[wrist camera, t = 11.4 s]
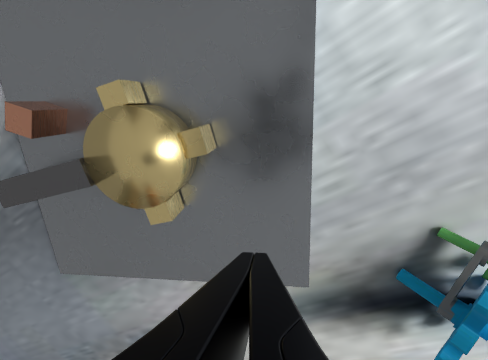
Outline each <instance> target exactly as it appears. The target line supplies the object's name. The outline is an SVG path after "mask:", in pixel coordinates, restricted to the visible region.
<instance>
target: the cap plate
mask: <svg viewBox="0 0 488 360" xmlns="http://www.w3.org/2000/svg"><path fill="white" fill-rule="evenodd" d="M315 24H316V0H0V81H1V84H2V87H3V90H4V94H5V97H6V100H7V101H5V130H7V131H10V132H13V133H15V134H17V135H18V138H19V142H20V145H21V148H22V151H23V154H24V158H25V161H26V164H27V167H28V170H29V173H30V172H33V171H37V170H40V169H44V168H47V167H51V166H55V165H58V164H62V163H65V162H69V161H72V160H76V159H80V158H83V157H84V155H83V141H84V136H85V133H86V130H87V128H88V126H89V124H90V123H91V121H92V120H93V119H94V118H95V117H96V116H97V115H98V114H99V113H100V112H102V111H104V107H103V105H102V102H101V100H100V97H99V95H98V92H97V90H96V87H99V86H102V85H104V84H107V83H110V82H113V81H116V80H119V79H121V80H129V81H137V82H140V84H141V87H142V90H143V92H144V95H145V98H146V101H147V103H146V104H142V105H156V106H160V107H163V108H166V109H168V110H170V111H172V112H173V113H175V114H176V115H177V116H178V117H179V118H181V119H182V120H183V122H184V123H185V124H186V125H187V127H188V128H189V129H192V128H195V127H199V126H203V125H206V124H210V127H211V130H212V133H213V137H214V140H215V143H216V147H217V148H215V149H214V150H213V151H211V152H210V153H208V154H206V155H202V156H198V157H197V161H196V166H195V170H194V172H193V174H192V176H191V178H190V179H189V181H188V182H187V183H186V184H185V185H184V186H183V187H181V188H180V189H179V190H178V191H179V194H180V196H181V199H182V202H183V205H184V209H183V210H182V211H181V212H180V213H179V214H178V215H177V217H176V218H175V219H174V220H173V221H170V222H164V223H159V224H154V225H151V224H150V222H149V219H148V217H147V214H146V212H145V209H136V208H130V207H126V206H123V205H121V204H119V203H117V202H115V201H113V200H112V199H110V198H109V197H107V196H106V195H105V194H104V193H103V192H102V191H101V190H100V189H99V188H98V187H97V186H96V185H93V186H91V187H87V188H83V189H79V190H75V191H71V192H67V193H63V194H59V195H55V196H51V197H47V198H43V199H39V200H38V202H39V206H40V209H41V212H42V215H43V218H44V222H45V225H46V228H47V231H48V234H49V238H50V241H51V244H52V247H53V250H54V254H55V257H56V260H57V263H58V266H59V270H60V273H61V274H79V275H97V276H115V277H133V278H151V279H169V280H187V281H205V282H208V281H210V280H211V279H212V278H213V277H214V276H215V275H217V274H218V273H219V272H220V271H221V270H222V269H223V268H225V267H226V266H227V265H228V264H229V263H230V262H231V261H233V260H234V259H235V258H236V257H237V256H238V255H240V254H241V253H242V252H253V253H254V254H255V253H267V254H268V256H269V258H270V260H271V262H272V263H273V265H274V267H275V269H276V271H277V272H278V274H279V276H280V278H281V280H282V281H283V283H284V285H285V286H295V287H309V256H310V217H311V179H312V140H313V101H314V62H315Z"/></svg>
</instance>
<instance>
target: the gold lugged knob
mask: <svg viewBox="0 0 488 360" xmlns="http://www.w3.org/2000/svg"><path fill="white" fill-rule="evenodd" d="M96 90H97V92H98V95H99V97H100V100H101V102H102V105H103V107H104V111H102V112H100V113H99V114H98V115H97V116H96V117H95V118H94V119H93V120H92V121H91V123H90V124H89V126H88V128H87V130H86V133H85V136H84V141H83V155H84V157H83V158H80V159H76V160H72V161H69V162H65V163H62V164H58V165H55V166H51V167H47V168H44V169H40V170H37V171H33V172H30V173H26V174H23V175H19V176H16V177H12V178H9V179H5V180H2V181H0V202H1V204H2V206H3V207H4V208H7V207H11V206H15V205H19V204H23V203H27V202H31V201H35V200H39V199H43V198H47V197H51V196H55V195H59V194H63V193H67V192H71V191H75V190H79V189H83V188H87V187H91V186H93V185H96V186H97V187H98V188H99V189H100V190H101V191H102V192H103V193H104V194H105V195H106V196H107V197H109V198H110V199H112V200H113V201H115V202H117V203H119V204H121V205H123V206H126V207H130V208H136V209H145V212H146V214H147V217H148V219H149V222H150V224H151V225H154V224H159V223H164V222H170V221H173V220H174V219H175V218H176V217H177V215H178V214H179V213H180V212H181V211H182V210H183V209H184V205H183V202H182V199H181V196H180V194H179V191H178V190H179V189H180V188H181V187H183V186H184V185H185V184H186V183H187V182H188V181H189V179H190V178H191V176H192V174H193V172H194V170H195V166H196V161H197V157H198V156H202V155H206V154H208V153H210V152H211V151H213V150H214V149H215V148H217V147H216V143H215V140H214V137H213V133H212V130H211V127H210V124H206V125H203V126H199V127H195V128H192V129H189V128H188V127H187V125H186V124H185V123H184V122H183V120H182V119H181V118H179V117H178V116H177V115H176V114H175V113H173V112H172V111H170V110H168V109H166V108H163V107H160V106H156V105H142V104H146V103H147V101H146V98H145V95H144V92H143V90H142V87H141V84H140V82H137V81H129V80H121V79H119V80H116V81H113V82H110V83H107V84H104V85H102V86H99V87H96Z"/></svg>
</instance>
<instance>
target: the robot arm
mask: <svg viewBox="0 0 488 360" xmlns="http://www.w3.org/2000/svg"><path fill="white" fill-rule="evenodd" d="M248 337H249V360H329V359H328V358H327V356H326V355H325V354H324V352H323V351H322V349H321V348H320V346H319V345H318V343H317V341H316V340H315V338H314V336H313V335H312V333H311V331H310V330H309V328H308V326H307V324H306V323H305V321H304V319H303V318H302V316H301V314H300V312H299V310H298V308H297V307H296V305H295V303H294V301H293V299H292V298H291V296H290V294H289V292H288V290H287V289H286V287H285V285H284V283H283V281H282V280H281V278H280V276H279V274H278V272H277V271H276V269H275V267H274V265H273V263H272V262H271V260H270V258H269V256H268V254H267V253H255V254H254V253H253V252H242V253H241V254H240V255H238V256H237V257H236V258H235V259H234V260H233V261H231V262H230V263H229V264H228V265H227V266H226V267H225V268H223V269H222V270H221V271H220V272H219V273H218V274H217V275H215V276H214V277H213V278H212V279H211V280H210V281H208V282H207V283H206V284H205V285H204V286H203V287H202V288H200V289H199V290H198V291H197V292H196V293H195V294H193V295H192V296H191V297H190V298H189V299H188V300H187V301H185V302H184V303H183V304H182V305H181V306H180V307H178V310H175V311H174V312H173V313H171V314H170V315H169V316H168V317H167V318H166V319H164V320H163V321H162V322H161V323H160V324H158V325H157V326H156V327H155V328H153V329H152V330H151V331H150V332H148V333H147V334H146V335H144V336H143V337H142V338H140V339H139V340H138V341H136V342H135V343H134V344H132V345H131V346H130V347H128V348H127V349H126V350H124V351H123V352H121V353H120V354H119V355H117V356H116V357H114V358H113V359H112V360H244V356H245V351H246V346H247V342H248Z"/></svg>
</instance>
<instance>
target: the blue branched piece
mask: <svg viewBox="0 0 488 360" xmlns="http://www.w3.org/2000/svg"><path fill="white" fill-rule="evenodd" d="M437 236H439V237H441V238H443V239H445V240H447V241H448V242H450V243H452V244H454V245H456V246H458V247H460V248H462V249H464V250H466V251H468V252H470V253H472V254H474V256H473V257H472V259H471V260H470V262H469V263H468V265H467V266H466V267H465V269H464V270H463V272H462V273H461V275H460V276H459V278H458V279H457V281H456V282H455V283H454V285H453V286H452V288H451V289H450V291H449V292H448V294H447V295H446V296H445V295H443V294H442V293H440V292H439V291H437V290H436V289H434V288H433V287H431V286H430V285H428V284H426V283H425V282H423V281H422V280H420V279H419V278H417V277H416V276H414V275H412V274H411V273H409V272H408V271H406V270H405V269H401V271H400V272H399V273H398V275H397V276H396V279H397V280H399V281H400V282H402V283H403V284H404V285H406V286H407V287H409V288H410V289H412V290H413V291H415V292H416V293H418V294H419V295H420V296H422V297H423V298H425V299H426V300H428V301H429V302H431V303H432V304H434V305H435V306H436V307H438V308H437V310H436V312H438V313H439V314H441V315H442V316H444V317H445V318H446V319H448V320H449V321H451V322H452V323H454V324H455V325H454V326H453V327H454V328H456V329H455V330H454V331H453V333H452V334H451V336H450V338H449V339H448V340H447V342H446V343H445V344H444V346H443V347H442V349H441V350H440V351H439V353H438V354H437V356H436V358H435V359H434V360H459V359H460V357H461V356H462V354H463V353H464V354H465V355H467V354H468V353H469V351H470V350H471V348H472V347H473V346H474V344H475V343H476V341H477V340H478V339H479V337H482V338H483V339H485V340H486V341H487V340H488V284H487V286H486V287H485V288H484V290H483V292H482V293H481V295H480V296H479V297H478V299H477V300H476V301H475V302H474V303H473V304H471V303H470V304H469V305H467V304H465V303H464V302H462V301H461V300H459V299H457V298H456V296H457V295H458V293H459V292H460V290H461V289H462V288H463V286H464V285H465V283H466V282H467V280H468V279H469V278H470V276H471V275H472V273H473V272H474V270H475V269H476V268H477V266H478V265H481V266H483V267H484V266H485V264H486V263H487V264H488V242H487V241H484V242H483V243H482V245H481V246H480V245H478V244H476V243H474V242H472V241H469V240H467V239H465V238H463V237H461V236H459V235H457V234H455V233H453V232H451V231H449V230H447V229H445V228H441V229H440V231H439V232H438V234H437ZM482 278H484V279H486V280H488V268H487V270H486V271H485V273H484V274H483V276H482Z"/></svg>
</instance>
